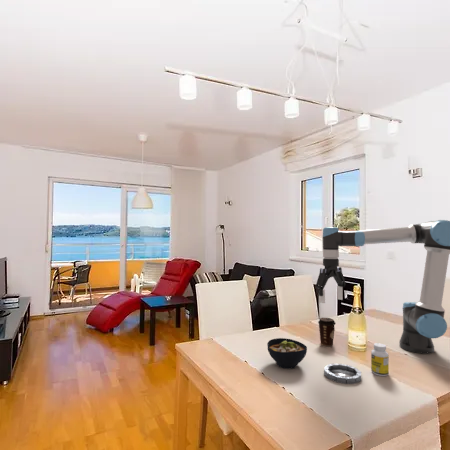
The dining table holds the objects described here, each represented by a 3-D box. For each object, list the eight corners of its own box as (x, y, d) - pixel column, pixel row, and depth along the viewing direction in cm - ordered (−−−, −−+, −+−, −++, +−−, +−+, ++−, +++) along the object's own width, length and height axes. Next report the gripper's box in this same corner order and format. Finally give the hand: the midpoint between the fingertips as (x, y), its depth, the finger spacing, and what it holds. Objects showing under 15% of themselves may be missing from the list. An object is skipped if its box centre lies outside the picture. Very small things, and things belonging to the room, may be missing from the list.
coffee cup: (333, 341, 169) (333, 317, 170) (337, 347, 161) (337, 321, 161) (316, 341, 170) (316, 316, 170) (320, 346, 162) (319, 321, 162)
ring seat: (361, 372, 132) (361, 367, 132) (360, 386, 119) (360, 381, 119) (326, 366, 138) (326, 361, 138) (322, 379, 125) (322, 374, 125)
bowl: (283, 376, 127) (283, 351, 128) (259, 361, 143) (259, 339, 143) (315, 368, 135) (315, 345, 135) (289, 354, 150) (289, 333, 151)
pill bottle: (368, 370, 134) (368, 342, 134) (382, 369, 134) (382, 342, 135) (376, 377, 127) (376, 347, 128) (392, 376, 128) (391, 347, 128)
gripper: (340, 256, 167) (340, 297, 167) (307, 258, 154) (308, 302, 153) (352, 257, 161) (353, 299, 160) (320, 259, 147) (320, 305, 147)
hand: (331, 301), depth 157 cm, fingers open, 13 cm apart
